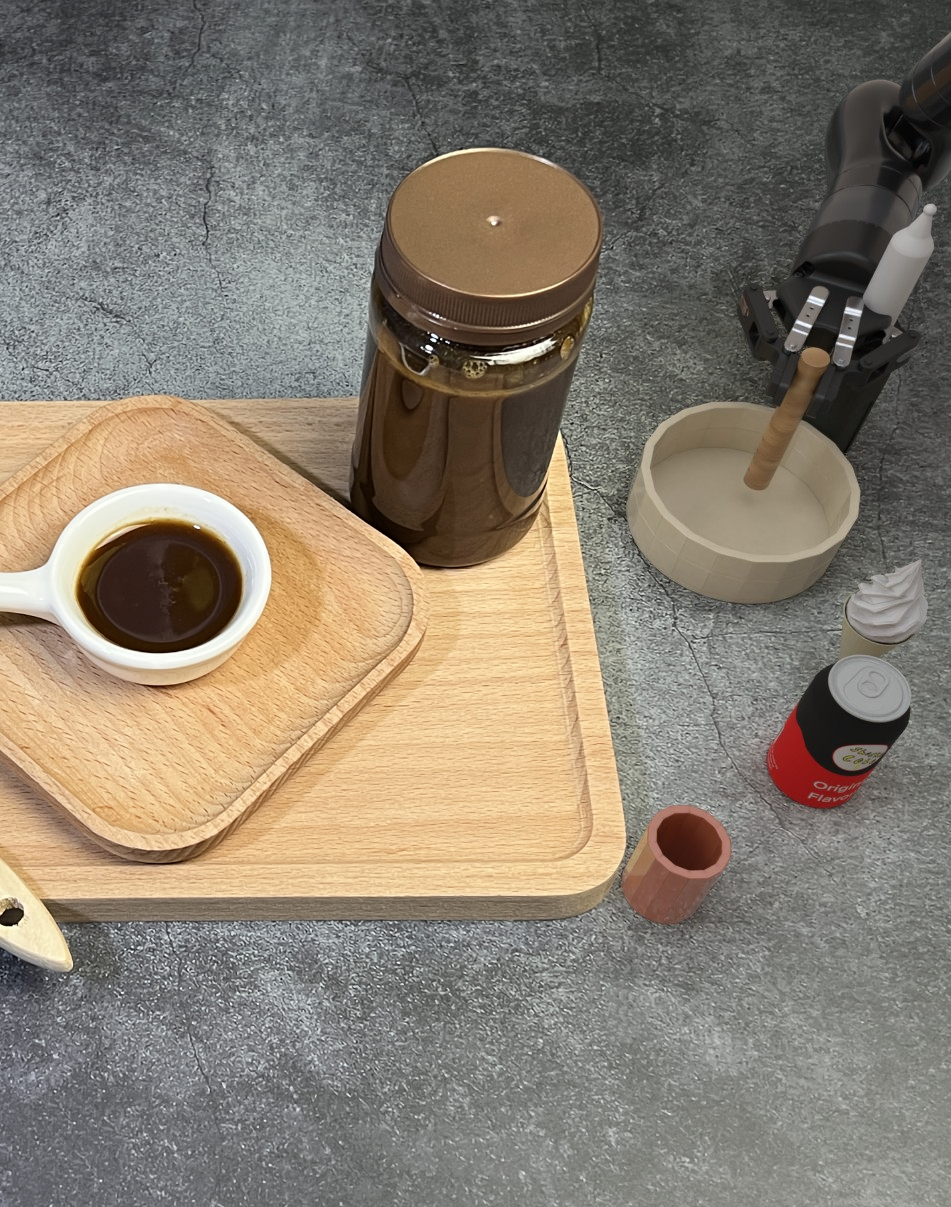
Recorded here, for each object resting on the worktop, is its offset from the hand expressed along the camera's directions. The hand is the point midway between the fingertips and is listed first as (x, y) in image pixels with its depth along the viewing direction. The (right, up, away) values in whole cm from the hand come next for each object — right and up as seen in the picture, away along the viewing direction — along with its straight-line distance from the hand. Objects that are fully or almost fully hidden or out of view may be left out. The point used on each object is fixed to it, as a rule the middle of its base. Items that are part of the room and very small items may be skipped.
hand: (797, 403), depth 104 cm
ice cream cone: (+5, -20, +4) cm, 21 cm away
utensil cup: (-12, -34, -5) cm, 37 cm away
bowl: (0, -8, +13) cm, 15 cm away
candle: (+9, -1, +17) cm, 19 cm away
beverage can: (0, -27, -1) cm, 27 cm away
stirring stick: (+2, -5, +11) cm, 12 cm away
